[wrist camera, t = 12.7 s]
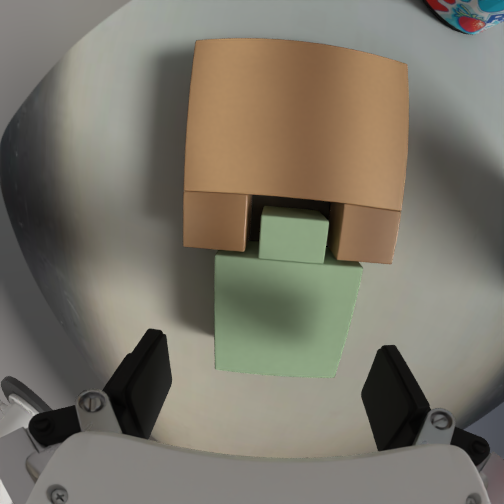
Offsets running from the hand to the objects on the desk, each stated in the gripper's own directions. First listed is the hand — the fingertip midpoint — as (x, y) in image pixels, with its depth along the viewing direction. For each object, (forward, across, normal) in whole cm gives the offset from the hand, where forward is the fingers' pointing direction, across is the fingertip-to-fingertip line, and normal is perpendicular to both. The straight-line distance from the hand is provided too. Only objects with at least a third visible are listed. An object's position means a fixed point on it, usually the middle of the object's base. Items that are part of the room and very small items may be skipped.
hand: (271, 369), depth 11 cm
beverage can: (+6, -12, -23) cm, 26 cm away
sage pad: (+6, -1, -2) cm, 6 cm away
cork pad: (+6, 0, -9) cm, 11 cm away
